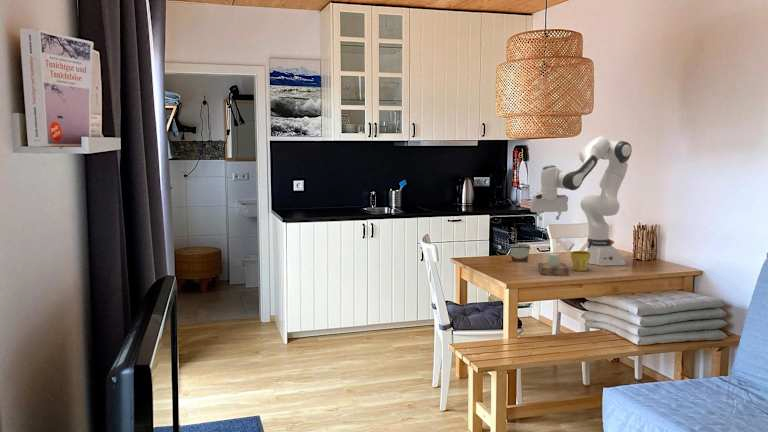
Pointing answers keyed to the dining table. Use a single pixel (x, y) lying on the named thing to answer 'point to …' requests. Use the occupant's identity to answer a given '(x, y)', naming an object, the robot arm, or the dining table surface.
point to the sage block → (553, 260)
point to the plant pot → (580, 260)
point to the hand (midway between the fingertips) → (548, 219)
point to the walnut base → (553, 269)
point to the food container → (519, 252)
